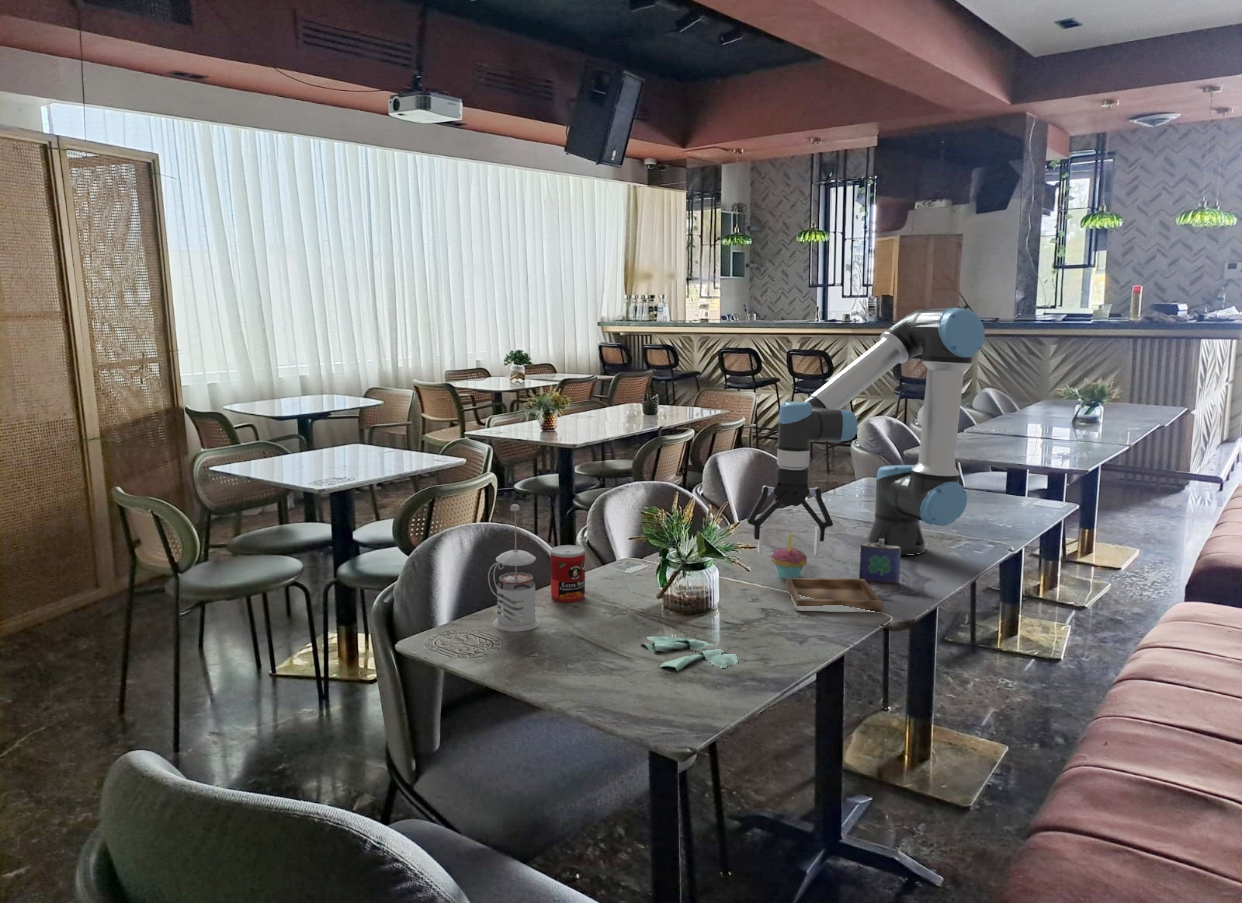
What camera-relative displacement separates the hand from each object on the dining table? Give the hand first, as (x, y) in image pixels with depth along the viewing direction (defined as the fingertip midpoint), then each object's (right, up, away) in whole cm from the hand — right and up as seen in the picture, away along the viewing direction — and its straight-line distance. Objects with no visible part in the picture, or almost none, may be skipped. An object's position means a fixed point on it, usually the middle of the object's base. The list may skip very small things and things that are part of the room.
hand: (788, 553), depth 210 cm
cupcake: (0, -6, +1) cm, 6 cm away
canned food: (-52, -8, -15) cm, 55 cm away
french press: (-63, -11, -31) cm, 71 cm away
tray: (+7, -9, -16) cm, 19 cm away
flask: (+21, -7, -3) cm, 22 cm away
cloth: (-30, -14, -47) cm, 57 cm away
